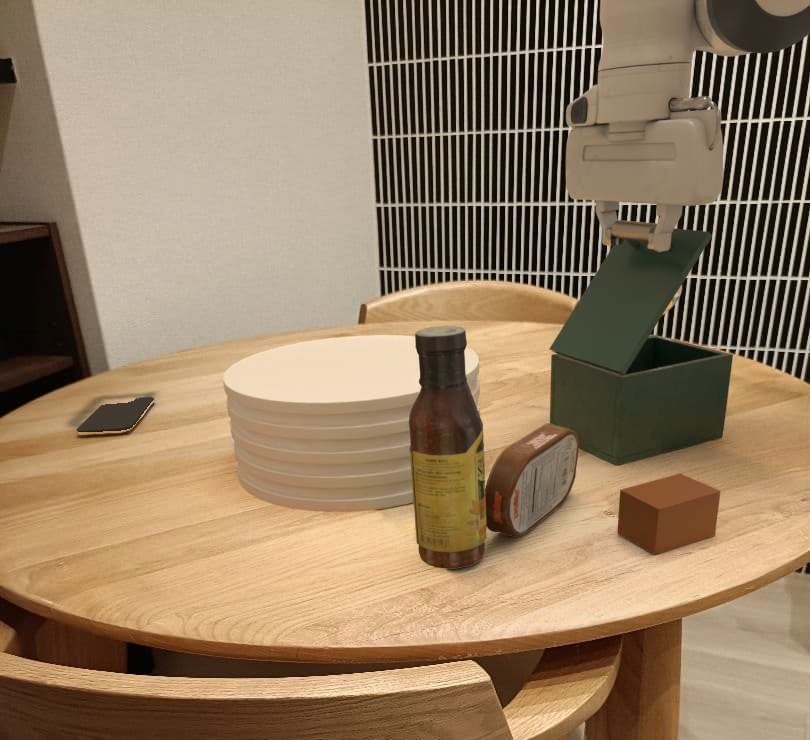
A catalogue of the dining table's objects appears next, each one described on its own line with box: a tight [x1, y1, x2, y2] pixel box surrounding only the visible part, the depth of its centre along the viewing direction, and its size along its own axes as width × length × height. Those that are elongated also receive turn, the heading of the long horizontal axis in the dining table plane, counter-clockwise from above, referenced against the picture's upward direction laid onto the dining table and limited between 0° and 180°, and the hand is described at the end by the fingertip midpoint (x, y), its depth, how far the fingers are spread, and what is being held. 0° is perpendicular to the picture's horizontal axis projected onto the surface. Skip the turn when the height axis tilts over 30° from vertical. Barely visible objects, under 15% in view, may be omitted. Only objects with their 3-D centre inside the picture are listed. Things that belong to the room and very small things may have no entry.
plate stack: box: [222, 334, 481, 513], centre depth 93 cm, size 28×28×12 cm
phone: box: [76, 396, 155, 432], centre depth 115 cm, size 7×1×15 cm
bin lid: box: [549, 219, 713, 375], centre depth 88 cm, size 16×13×5 cm
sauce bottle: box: [409, 325, 488, 570], centre depth 69 cm, size 6×6×20 cm
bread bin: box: [549, 334, 734, 466], centre depth 96 cm, size 16×13×10 cm
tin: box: [485, 422, 580, 538], centre depth 77 cm, size 15×3×8 cm, turn 145°
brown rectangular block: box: [616, 473, 721, 556], centre depth 73 cm, size 7×5×4 cm
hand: (634, 247), depth 87 cm, fingers closed on bin lid, 6 cm apart
